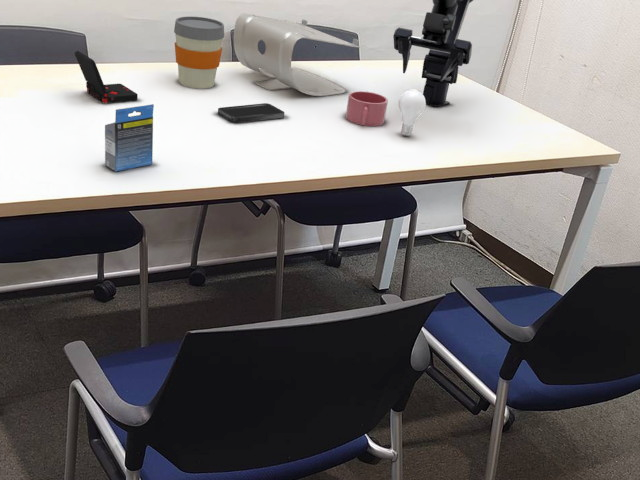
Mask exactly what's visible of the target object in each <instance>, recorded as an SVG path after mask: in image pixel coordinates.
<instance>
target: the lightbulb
mask: <svg viewBox="0 0 640 480" xmlns="http://www.w3.org/2000/svg"><path fill="white" fill-rule="evenodd" d="M426 105H427V103H426V100H425V97H424V95H423V92H421V91H420V90H418V89H414V88H411V89H406V91H404V92H403V93H402V94H401V95H400V96H399V98H398V109H399V112H400V114H401V122H402V124H401V130H400V133H401V135H403V137H409V136H411V135H412V134H413V131H414V126H415V124H416V122H417V120H418V118H419V116H421V115H422V114H423V112H424V111H425V108H426Z"/></svg>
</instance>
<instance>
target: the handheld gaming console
mask: <svg viewBox="0 0 640 480" xmlns="http://www.w3.org/2000/svg"><path fill="white" fill-rule="evenodd" d="M74 56H75V59H76V61H77V63H78V66H79V68H80V71H81V73H82V75H83V77H84V81H85V83H86V84H85V85H86V92H87V93H88V95H90V96H91V97H92V98H94V99H96V100H97V101H99V102H100V103H103V104H116V103H117V104H118V103H127V102H128V103H129V102H137V101H138V93H137V92H135V91H134V90H132V89H130V88H129V87H127V86H125V85H124V84H122V83H108V84H104V81H103V78H102V76H101V74H100V72H99V71H100V70H99V69H98V65H97V64H96V62H95V60H94V59H93V58H91V57H89V56H88V55H86V54H84V53H82V52H81V51H79V50H76V51H74Z"/></svg>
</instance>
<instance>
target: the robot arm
mask: <svg viewBox="0 0 640 480" xmlns="http://www.w3.org/2000/svg"><path fill="white" fill-rule="evenodd" d="M473 1H474V0H432V4H433V6H432V8H431V12H429V11H428V12H426V13H425V16H424V20H423V24H422V30H421V35H423V36H422V37H419V36H414V35H413V29H409V28H406V27H405V28H404V27H397V28H396V29H395V30H394V33H393V49H394V50H396V51H397V52H398V54H400V55H401V57H402V73H403V74H405V73H406V72H407V70H408V69H407V68H408V65H409V60H410V56H411V49H412V46H414V47H418V48H423V49H424V48H425V49H428V50H429V51H428V53H427V54H425V55H424V59H423V63H422V70H421V71H422V72H421V79H425V84H424V86H423V92H422V94H423V95H424V97H425V100H426V105H429V106H432V107H435V108H436V107H442V106H448V105H450V104H451V103H450V101H448V100H447V97H448V92H449V87H450V85H453V84H457V81H458V75H459V67H462V66H463V65H469V64H470V61H471V57H472V51H473V50H472V49H473V43H472V42H471V41H470V40H465V39H459V35H460V32H461V30H462V27H463V23H464V20H465V17H466V15H467V11H468V8H469V5H470V4H471V3H472V2H473Z"/></svg>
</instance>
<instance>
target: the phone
mask: <svg viewBox="0 0 640 480" xmlns="http://www.w3.org/2000/svg"><path fill="white" fill-rule="evenodd" d="M217 115H218V116H221V117H223V118H224V119H225V120H227V121H229V122H231V123H233V124H238V123H239V124H240V123H249V122H257V121H258V122H259V121H266V120H276V119H283V118H285V111H284V110H282V109H280V108H278V107H277V106H275V105H273V104H272V103H271V104H270V103H268V102H267V103H265V102H264V103H255V104H254V103H253V104H245V105H244V104H243V105H234V106H223V107H218V108H217Z"/></svg>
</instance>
